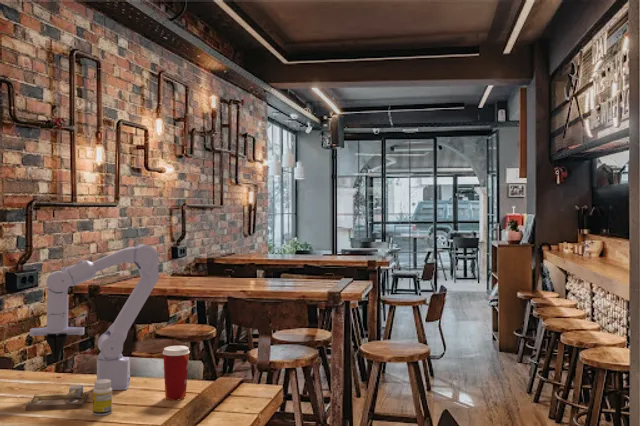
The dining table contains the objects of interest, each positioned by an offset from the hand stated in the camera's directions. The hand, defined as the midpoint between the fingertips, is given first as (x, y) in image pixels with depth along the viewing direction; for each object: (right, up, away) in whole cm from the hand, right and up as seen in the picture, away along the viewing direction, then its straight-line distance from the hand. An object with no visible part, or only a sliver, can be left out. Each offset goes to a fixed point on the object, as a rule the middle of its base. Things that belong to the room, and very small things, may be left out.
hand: (57, 360), depth 178 cm
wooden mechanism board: (+5, -9, -10) cm, 15 cm away
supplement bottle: (+19, -10, -17) cm, 28 cm away
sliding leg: (+9, -8, -10) cm, 16 cm away
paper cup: (+35, -10, -3) cm, 36 cm away
